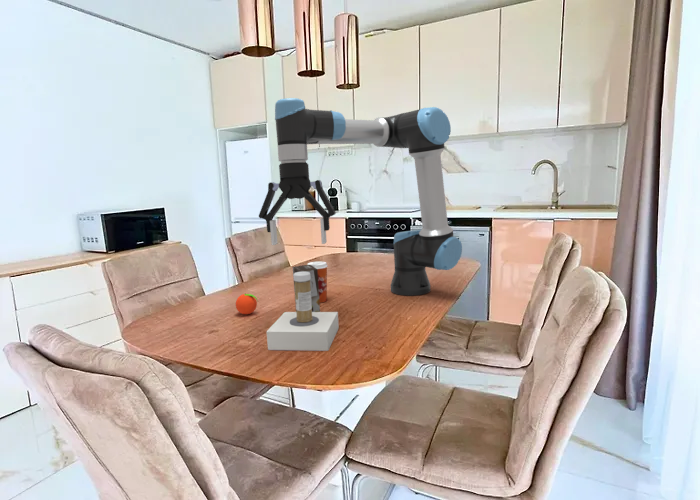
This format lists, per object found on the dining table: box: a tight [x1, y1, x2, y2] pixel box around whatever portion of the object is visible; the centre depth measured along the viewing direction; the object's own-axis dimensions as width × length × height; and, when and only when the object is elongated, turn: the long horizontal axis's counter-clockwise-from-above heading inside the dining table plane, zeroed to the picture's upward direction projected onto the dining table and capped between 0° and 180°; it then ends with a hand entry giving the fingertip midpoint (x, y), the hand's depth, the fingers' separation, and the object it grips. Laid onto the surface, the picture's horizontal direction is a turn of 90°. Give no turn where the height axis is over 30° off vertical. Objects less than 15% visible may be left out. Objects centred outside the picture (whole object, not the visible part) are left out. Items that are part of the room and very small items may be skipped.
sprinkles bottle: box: [292, 271, 313, 323], centre depth 111 cm, size 5×5×13 cm
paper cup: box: [306, 260, 329, 304], centre depth 148 cm, size 8×8×14 cm
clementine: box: [235, 293, 259, 315], centre depth 137 cm, size 8×7×7 cm
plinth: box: [266, 311, 340, 352], centre depth 113 cm, size 16×16×5 cm
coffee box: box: [292, 264, 321, 312], centre depth 131 cm, size 9×6×16 cm
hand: (299, 243), depth 109 cm, fingers open, 13 cm apart
